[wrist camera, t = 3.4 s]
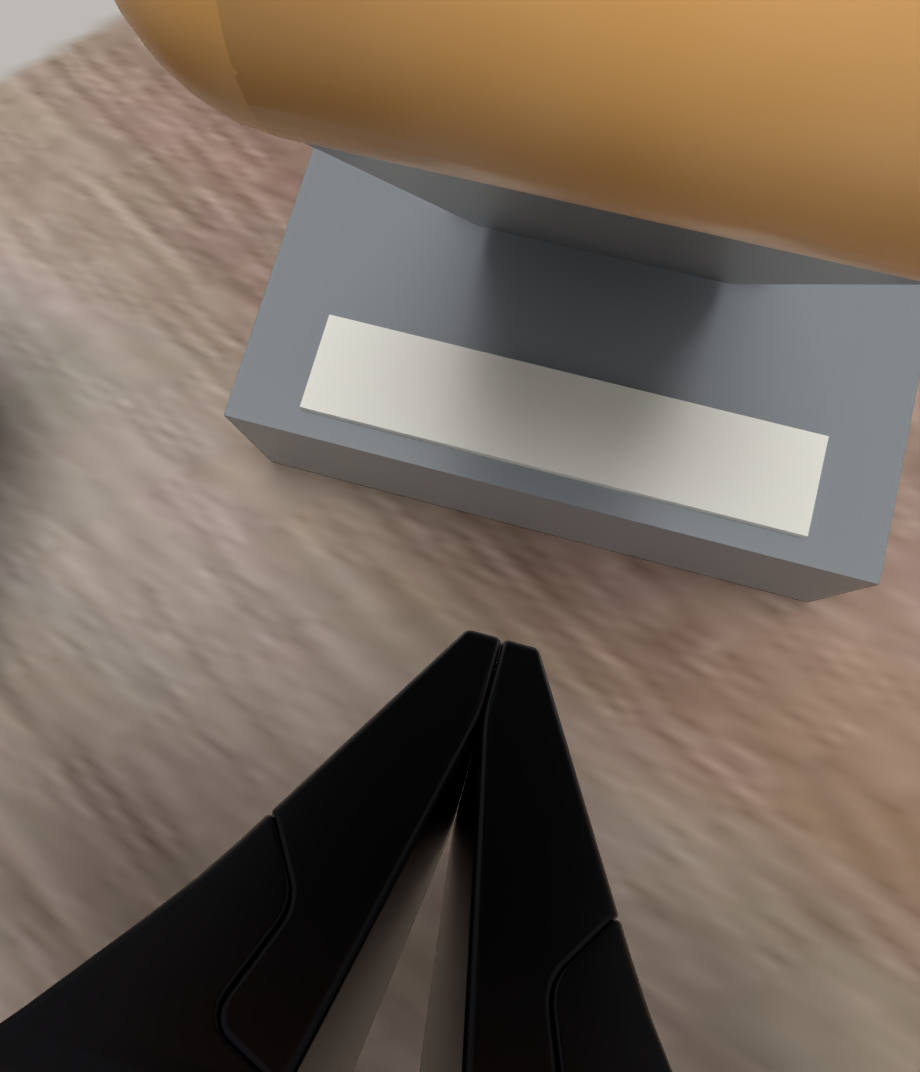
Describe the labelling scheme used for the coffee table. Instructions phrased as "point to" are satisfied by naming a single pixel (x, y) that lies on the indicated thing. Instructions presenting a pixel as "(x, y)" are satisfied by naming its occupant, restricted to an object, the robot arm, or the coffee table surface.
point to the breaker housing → (583, 389)
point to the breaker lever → (597, 118)
